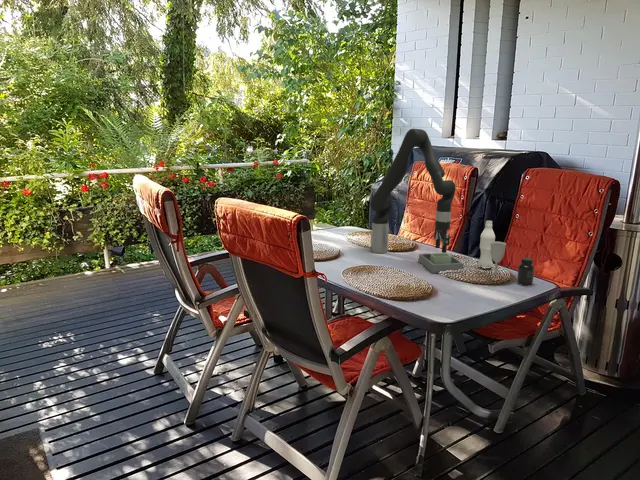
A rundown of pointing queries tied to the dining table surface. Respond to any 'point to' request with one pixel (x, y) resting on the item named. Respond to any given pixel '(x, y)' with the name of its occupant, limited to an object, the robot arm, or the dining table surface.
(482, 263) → the water bottle
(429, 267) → the grey tray
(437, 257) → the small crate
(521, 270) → the supplement bottle
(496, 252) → the chalice
